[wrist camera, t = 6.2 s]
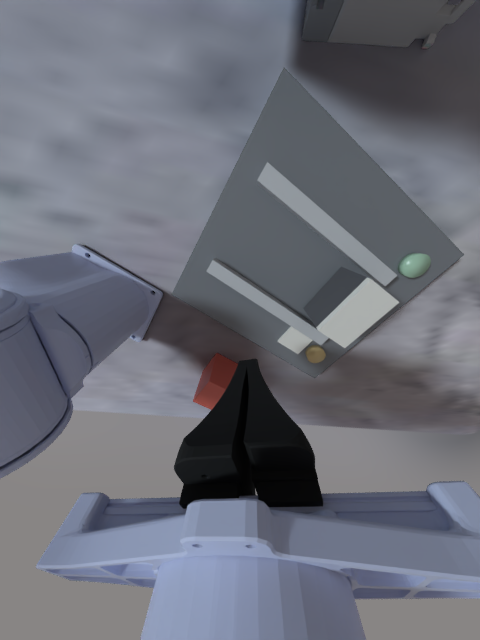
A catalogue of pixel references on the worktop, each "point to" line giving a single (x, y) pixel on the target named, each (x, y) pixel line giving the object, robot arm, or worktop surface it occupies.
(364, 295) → the breaker handle
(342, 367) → the worktop surface
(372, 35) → the circuit breaker
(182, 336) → the worktop surface
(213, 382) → the red rectangular block
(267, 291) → the breaker panel
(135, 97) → the worktop surface
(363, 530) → the robot arm
